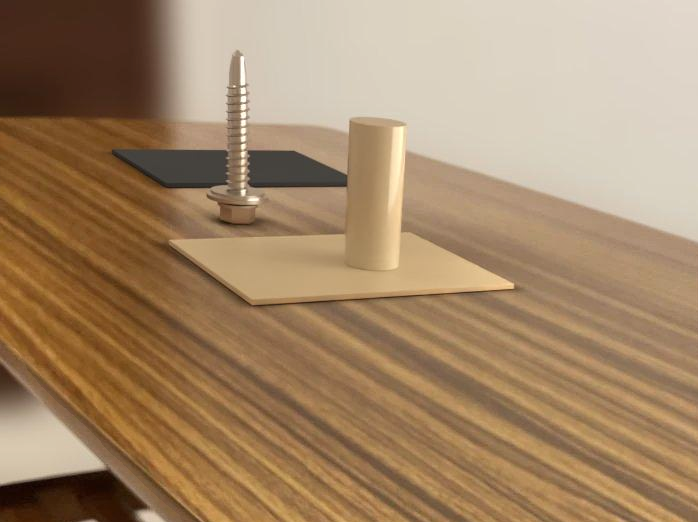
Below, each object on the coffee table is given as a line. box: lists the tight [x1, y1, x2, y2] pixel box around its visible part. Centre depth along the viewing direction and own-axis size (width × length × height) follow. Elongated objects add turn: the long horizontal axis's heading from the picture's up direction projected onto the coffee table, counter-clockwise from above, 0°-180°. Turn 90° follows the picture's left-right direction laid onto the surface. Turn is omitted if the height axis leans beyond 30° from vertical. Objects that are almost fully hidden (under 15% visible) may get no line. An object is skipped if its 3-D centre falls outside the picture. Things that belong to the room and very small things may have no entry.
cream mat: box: [168, 231, 515, 306], centre depth 90 cm, size 20×16×1 cm
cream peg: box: [344, 116, 408, 271], centre depth 88 cm, size 4×4×10 cm
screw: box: [206, 49, 269, 225], centre depth 97 cm, size 13×5×5 cm
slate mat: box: [111, 148, 347, 188], centre depth 119 cm, size 19×16×1 cm
